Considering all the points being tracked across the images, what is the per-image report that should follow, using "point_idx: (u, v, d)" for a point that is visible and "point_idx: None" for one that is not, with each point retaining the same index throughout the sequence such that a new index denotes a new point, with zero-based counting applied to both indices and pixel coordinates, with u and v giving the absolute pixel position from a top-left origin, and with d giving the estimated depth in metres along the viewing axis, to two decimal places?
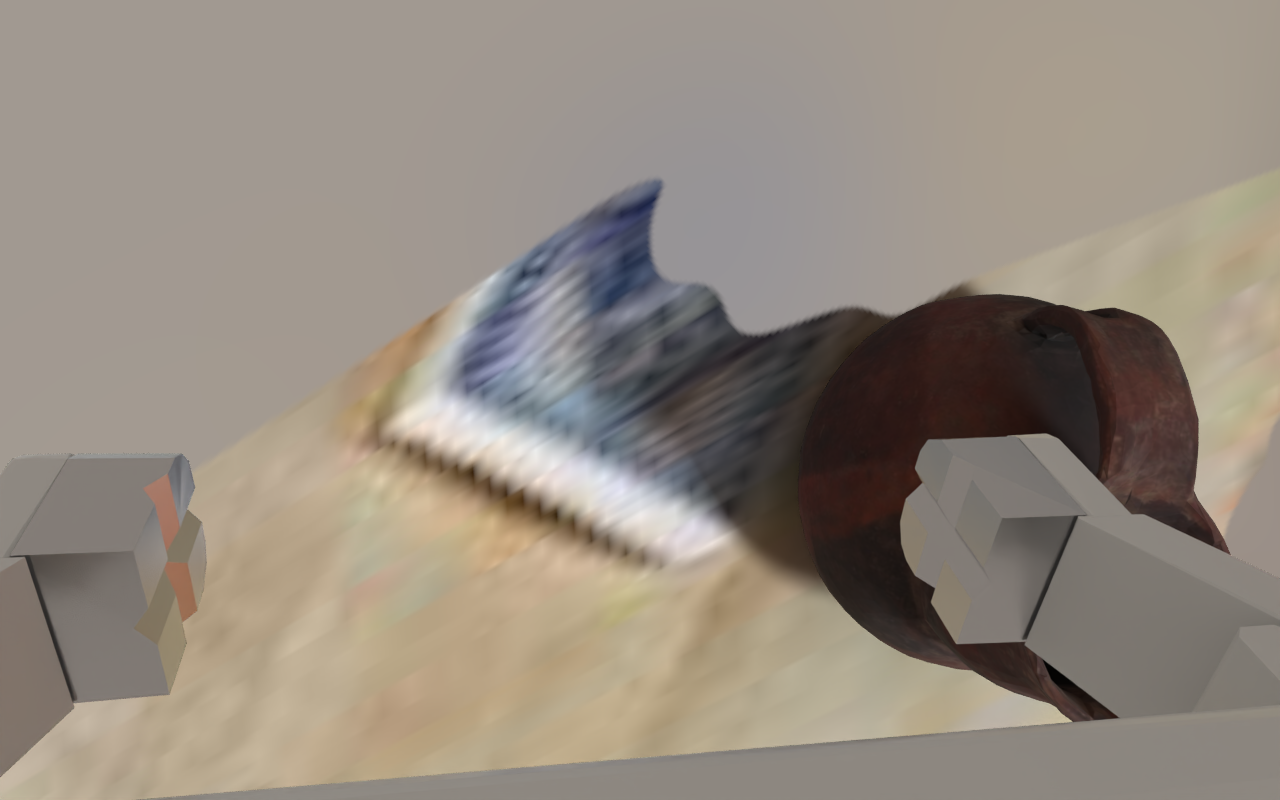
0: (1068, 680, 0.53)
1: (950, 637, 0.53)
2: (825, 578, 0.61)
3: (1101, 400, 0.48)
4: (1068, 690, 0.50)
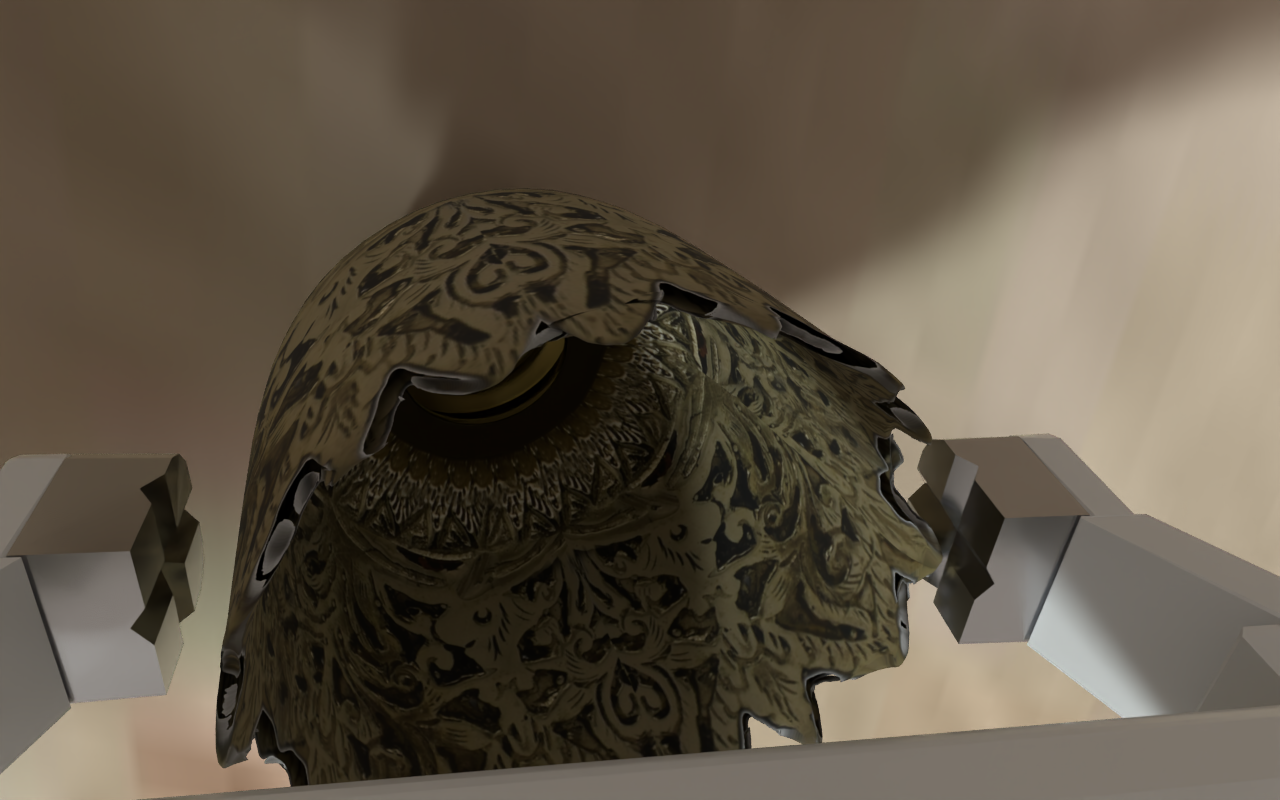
0: None
1: None
2: None
3: None
4: None
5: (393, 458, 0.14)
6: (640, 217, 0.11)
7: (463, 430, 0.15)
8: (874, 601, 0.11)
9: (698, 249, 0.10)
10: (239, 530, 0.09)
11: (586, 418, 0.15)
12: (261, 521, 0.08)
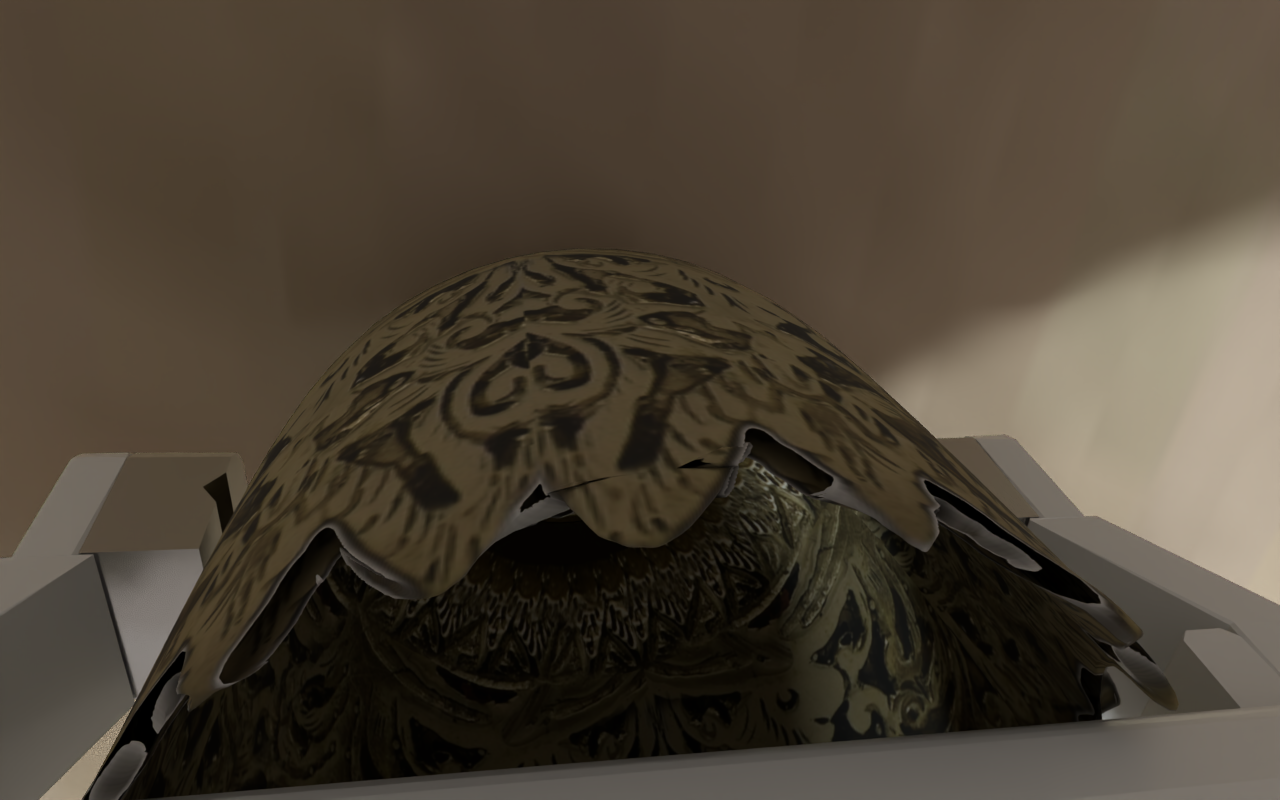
0: None
1: None
2: None
3: None
4: None
5: None
6: (761, 301, 0.08)
7: (537, 529, 0.12)
8: None
9: (834, 356, 0.07)
10: (151, 694, 0.07)
11: (689, 530, 0.12)
12: (125, 722, 0.05)
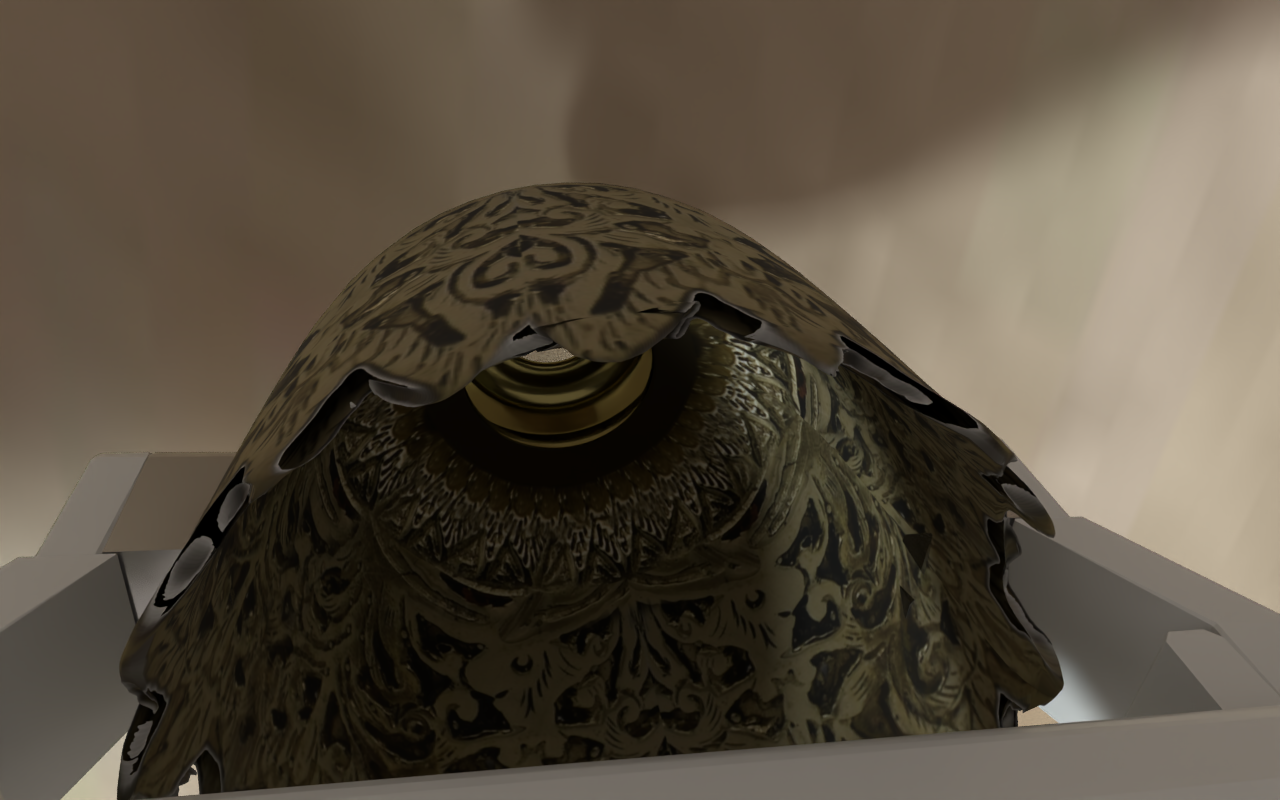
0: None
1: None
2: None
3: None
4: None
5: (450, 475, 0.13)
6: (723, 223, 0.09)
7: (531, 453, 0.13)
8: (971, 725, 0.09)
9: (783, 264, 0.09)
10: None
11: (668, 455, 0.13)
12: (192, 534, 0.07)
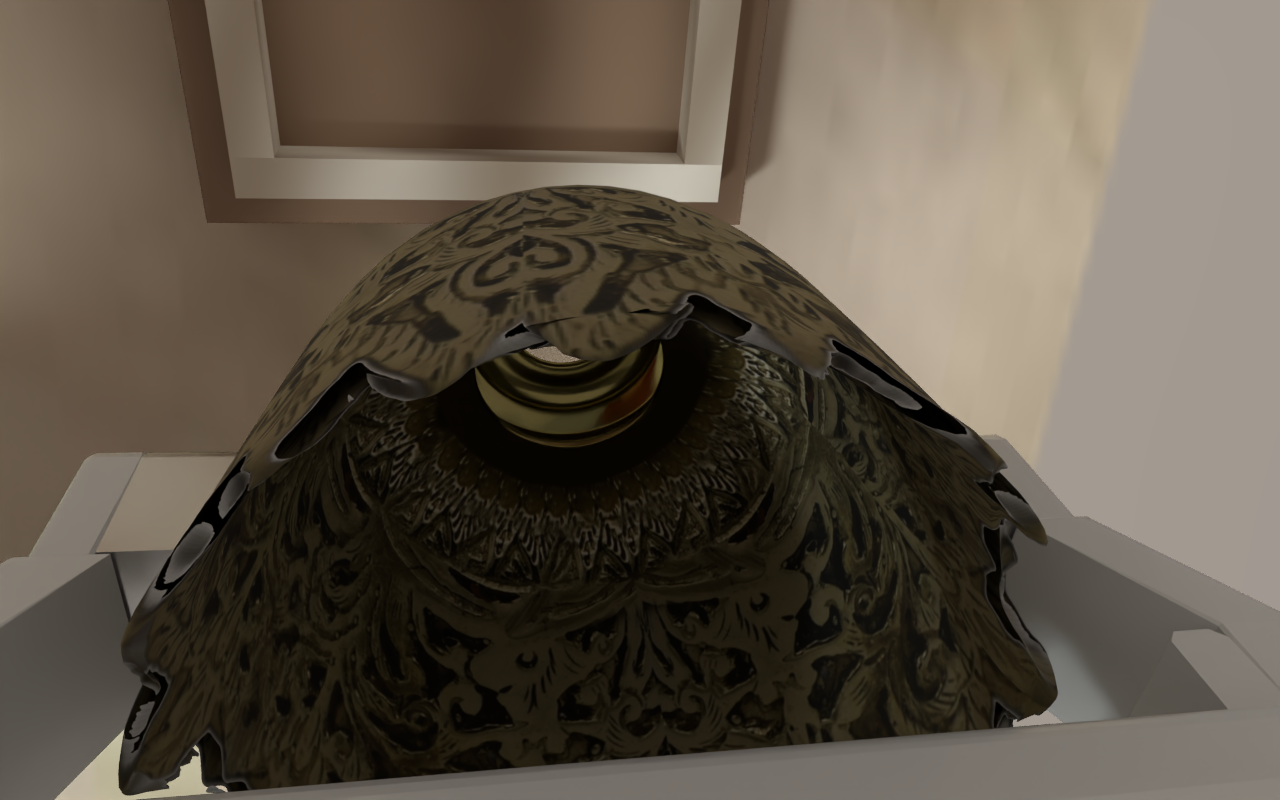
0: None
1: None
2: None
3: None
4: None
5: (461, 472, 0.13)
6: (730, 227, 0.09)
7: (542, 452, 0.13)
8: None
9: (786, 268, 0.09)
10: None
11: (678, 457, 0.13)
12: (195, 520, 0.07)
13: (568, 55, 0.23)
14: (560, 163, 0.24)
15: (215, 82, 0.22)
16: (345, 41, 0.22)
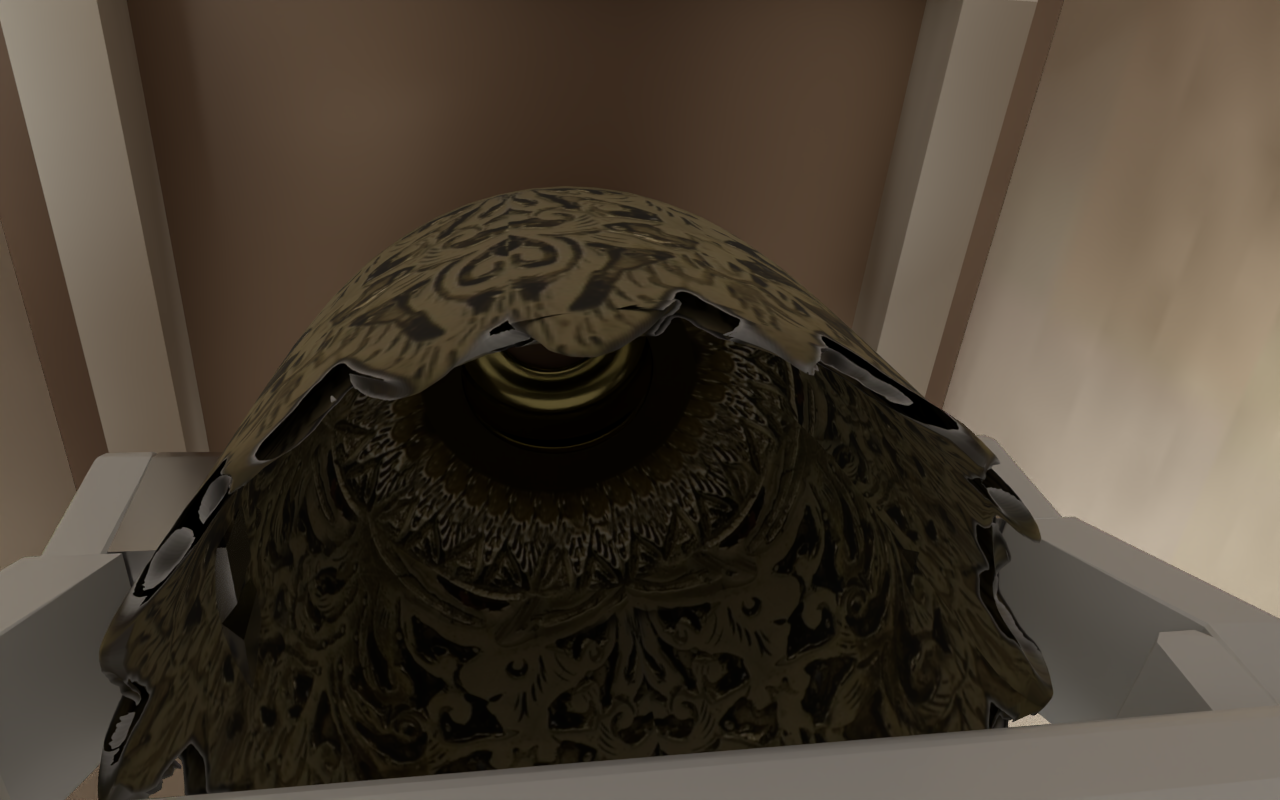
0: None
1: None
2: None
3: None
4: None
5: (449, 478, 0.13)
6: (717, 227, 0.09)
7: (530, 457, 0.13)
8: None
9: (774, 267, 0.09)
10: None
11: (668, 461, 0.13)
12: (175, 526, 0.07)
13: None
14: None
15: None
16: None
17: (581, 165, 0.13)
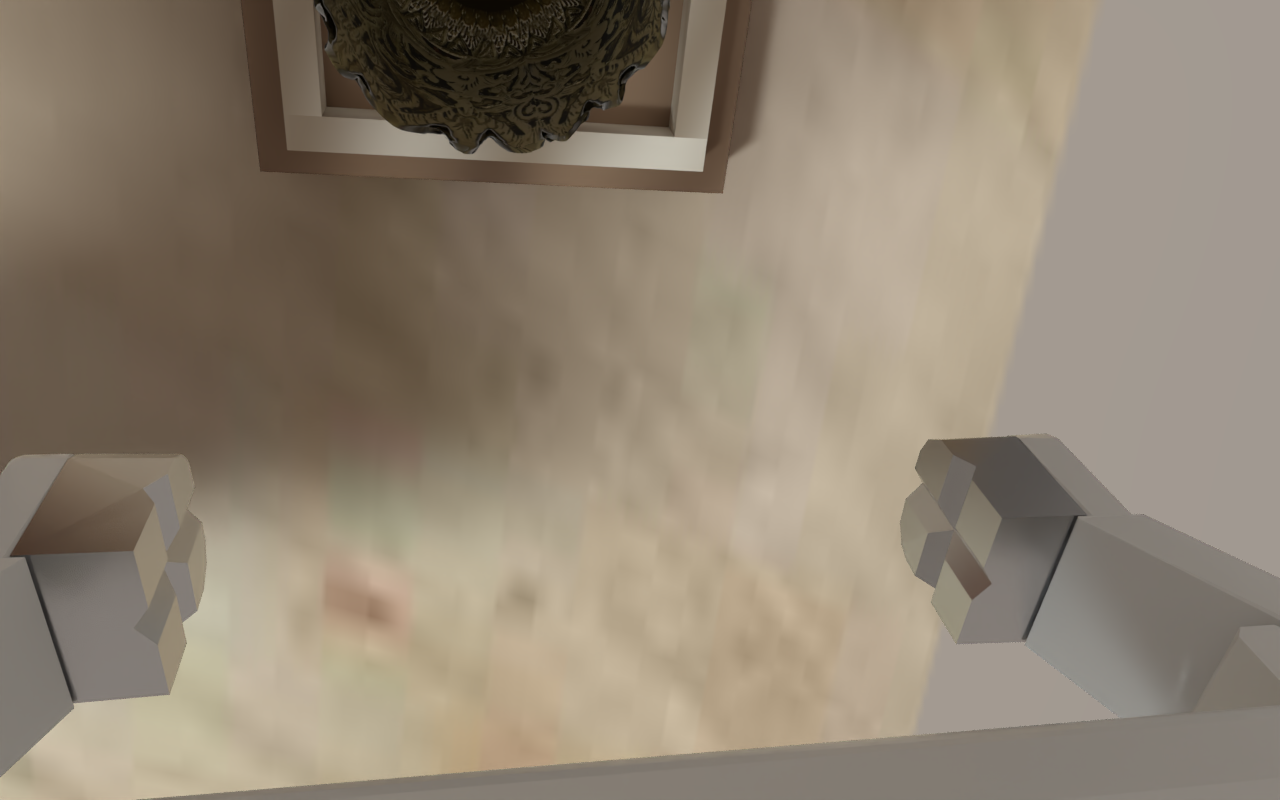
0: None
1: None
2: None
3: None
4: None
5: None
6: None
7: None
8: (654, 14, 0.20)
9: None
10: None
11: None
12: None
13: None
14: None
15: (274, 49, 0.26)
16: None
17: None
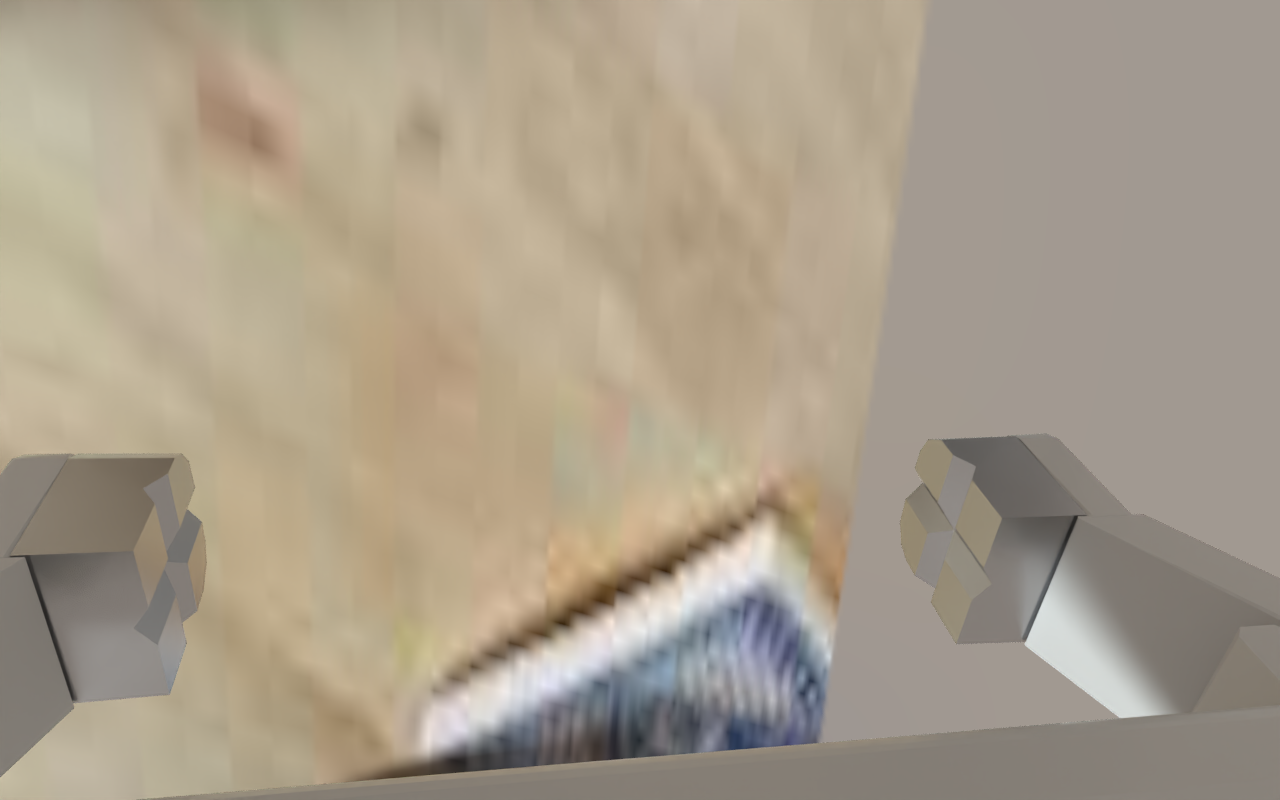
0: None
1: None
2: None
3: None
4: None
5: None
6: None
7: None
8: None
9: None
10: None
11: None
12: None
13: None
14: None
15: None
16: None
17: None
